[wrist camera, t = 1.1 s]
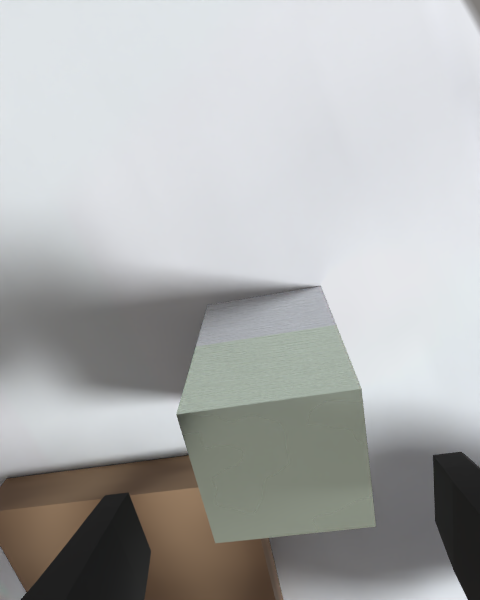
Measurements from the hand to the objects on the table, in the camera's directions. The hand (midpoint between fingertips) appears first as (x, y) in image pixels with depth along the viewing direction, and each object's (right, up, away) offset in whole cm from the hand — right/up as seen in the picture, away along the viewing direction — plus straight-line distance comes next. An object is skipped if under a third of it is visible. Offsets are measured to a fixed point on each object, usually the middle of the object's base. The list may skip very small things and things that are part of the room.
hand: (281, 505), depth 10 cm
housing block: (0, +3, +7) cm, 8 cm away
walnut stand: (-5, -8, +12) cm, 16 cm away
